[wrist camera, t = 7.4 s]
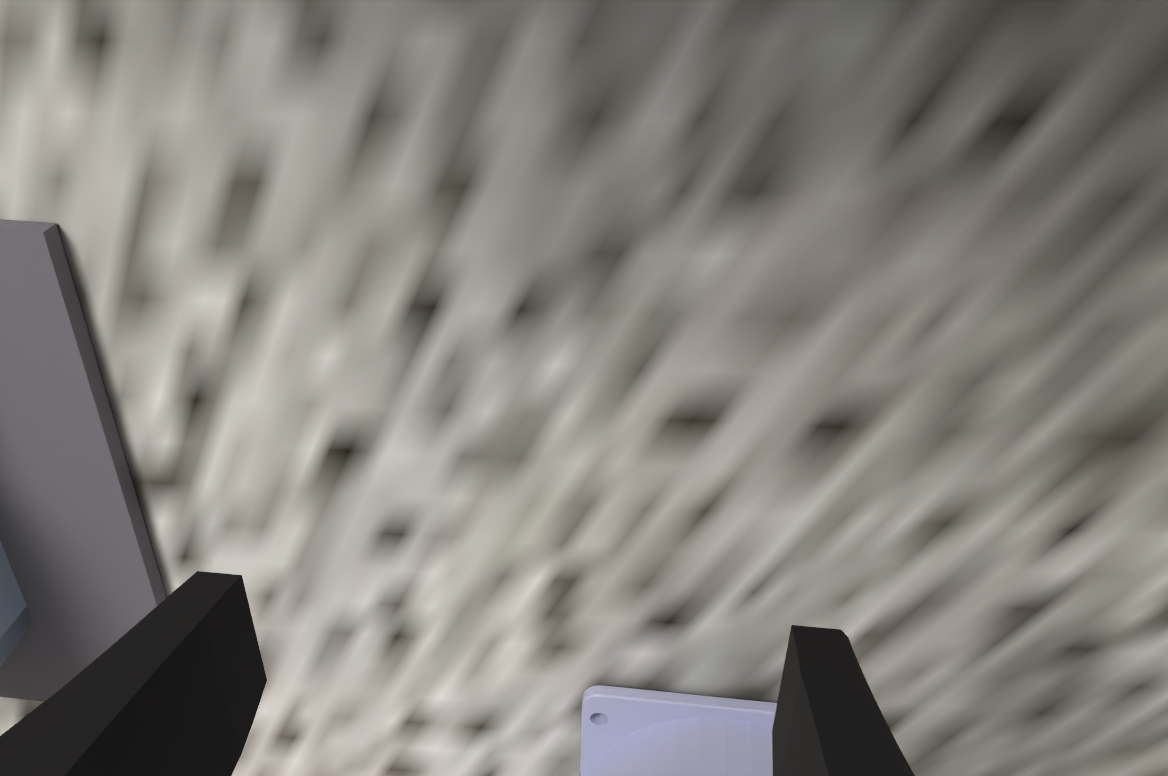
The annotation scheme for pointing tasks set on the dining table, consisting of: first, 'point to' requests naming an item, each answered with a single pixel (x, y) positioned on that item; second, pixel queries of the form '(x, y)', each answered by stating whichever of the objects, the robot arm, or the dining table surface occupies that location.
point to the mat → (62, 476)
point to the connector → (10, 609)
